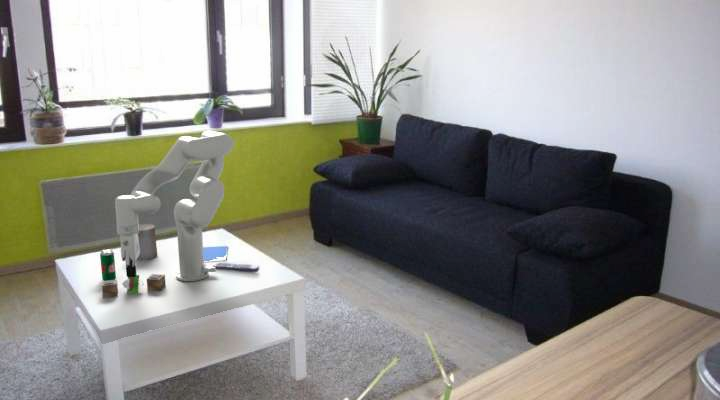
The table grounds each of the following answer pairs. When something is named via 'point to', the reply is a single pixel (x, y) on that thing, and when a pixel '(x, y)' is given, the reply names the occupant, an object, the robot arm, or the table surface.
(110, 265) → the soda can
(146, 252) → the pillar candle
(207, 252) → the tablet computer
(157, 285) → the marked block 2
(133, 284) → the geometric puzzle
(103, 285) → the marked block 1
